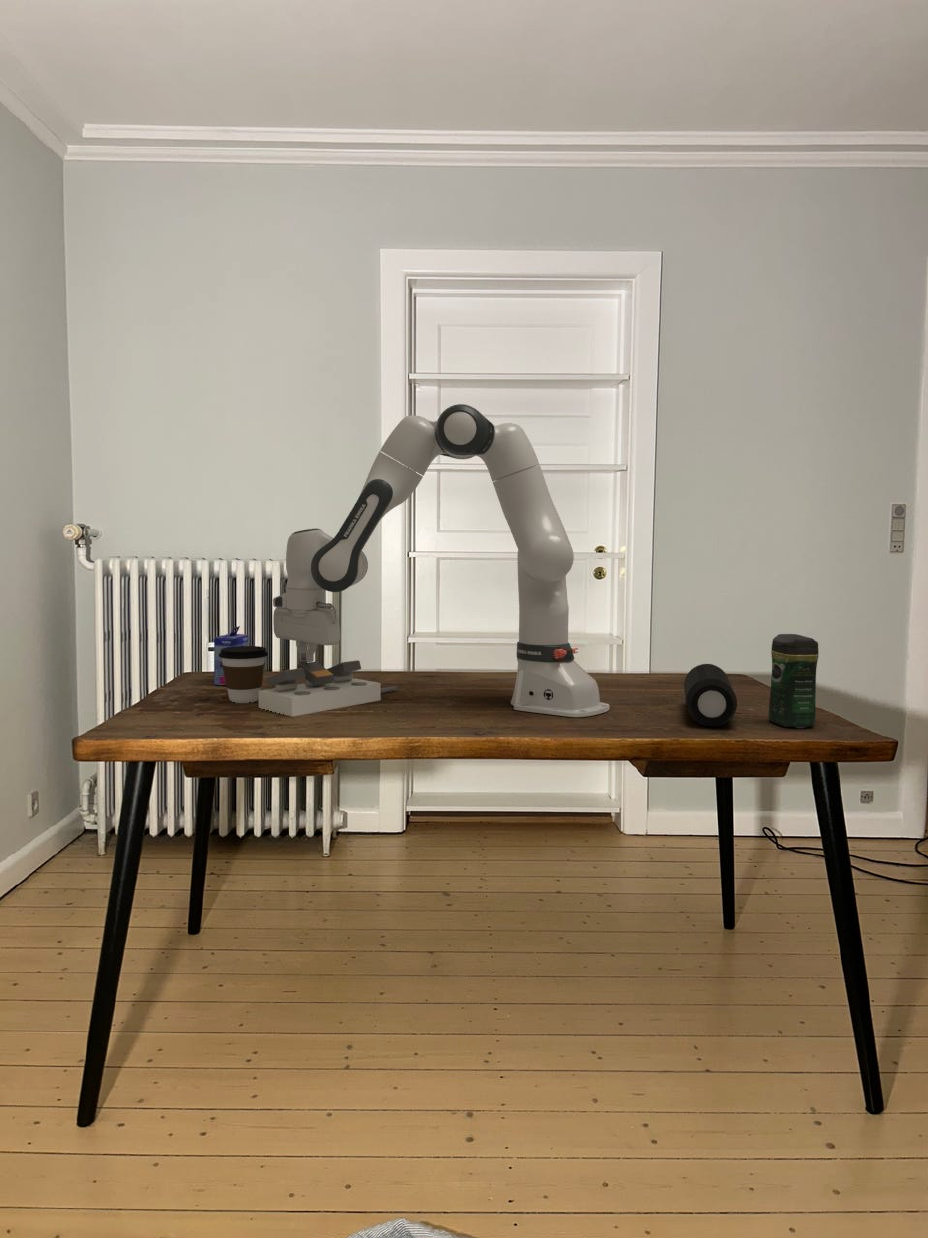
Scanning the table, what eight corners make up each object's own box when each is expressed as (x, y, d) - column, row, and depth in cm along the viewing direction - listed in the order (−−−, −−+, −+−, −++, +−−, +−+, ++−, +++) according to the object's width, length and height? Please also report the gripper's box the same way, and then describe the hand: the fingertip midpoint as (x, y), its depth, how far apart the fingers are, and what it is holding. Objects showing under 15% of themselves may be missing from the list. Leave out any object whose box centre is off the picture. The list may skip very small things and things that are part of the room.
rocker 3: (361, 668, 204) (359, 659, 204) (344, 671, 200) (342, 662, 200) (343, 675, 208) (340, 666, 209) (326, 678, 205) (324, 669, 205)
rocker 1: (305, 677, 192) (303, 667, 192) (286, 679, 188) (284, 670, 189) (287, 684, 197) (285, 674, 197) (268, 687, 193) (266, 677, 193)
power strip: (413, 694, 211) (413, 670, 210) (292, 716, 185) (291, 690, 184) (379, 687, 219) (379, 665, 218) (258, 708, 193) (258, 683, 192)
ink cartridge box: (234, 686, 219) (232, 629, 218) (213, 686, 220) (211, 628, 218) (250, 680, 229) (249, 624, 227) (229, 679, 230) (228, 624, 228)
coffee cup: (266, 695, 208) (265, 644, 207) (271, 703, 198) (270, 651, 197) (218, 697, 205) (217, 646, 204) (221, 706, 195) (219, 652, 193)
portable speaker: (737, 731, 175) (738, 681, 174) (685, 728, 177) (687, 679, 176) (728, 706, 199) (729, 662, 198) (683, 704, 202) (684, 661, 201)
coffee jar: (821, 729, 177) (826, 637, 175) (783, 729, 176) (788, 637, 174) (798, 718, 186) (802, 631, 184) (762, 719, 186) (766, 631, 184)
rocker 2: (332, 683, 199) (334, 674, 198) (314, 685, 195) (316, 677, 194) (314, 669, 203) (316, 660, 202) (296, 671, 199) (298, 663, 198)
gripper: (346, 603, 194) (347, 665, 196) (290, 597, 208) (291, 655, 209) (324, 604, 190) (324, 668, 191) (268, 598, 203) (268, 658, 205)
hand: (306, 661), depth 200 cm, fingers closed
